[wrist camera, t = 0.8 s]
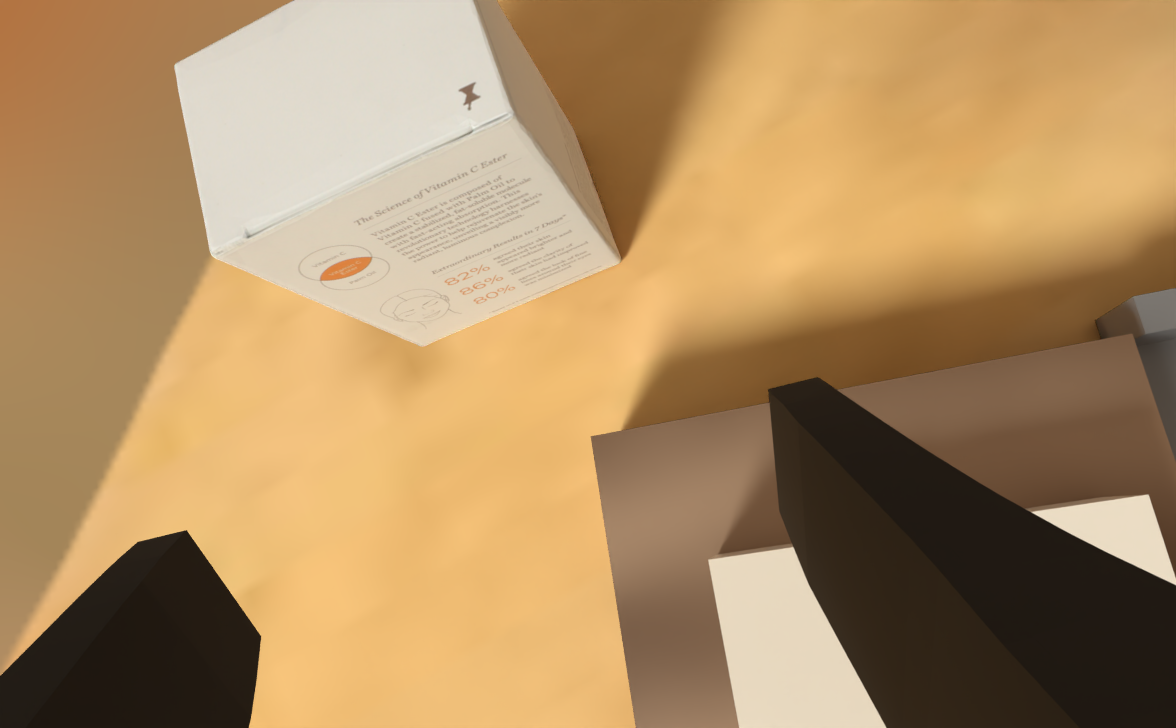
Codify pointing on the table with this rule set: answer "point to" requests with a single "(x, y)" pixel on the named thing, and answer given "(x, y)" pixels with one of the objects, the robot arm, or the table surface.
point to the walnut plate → (908, 404)
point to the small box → (391, 162)
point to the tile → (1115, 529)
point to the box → (1151, 346)
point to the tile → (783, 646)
